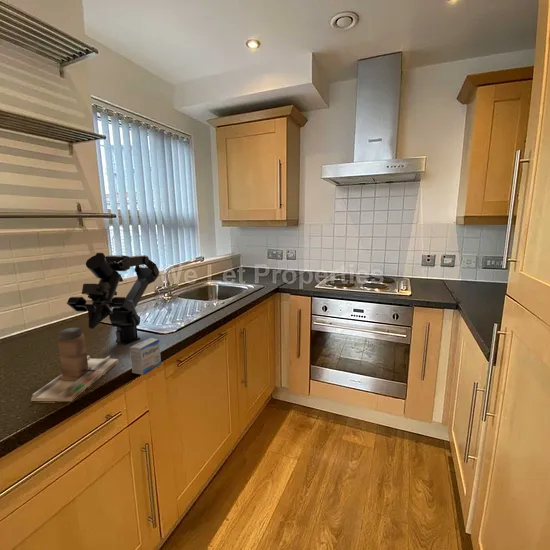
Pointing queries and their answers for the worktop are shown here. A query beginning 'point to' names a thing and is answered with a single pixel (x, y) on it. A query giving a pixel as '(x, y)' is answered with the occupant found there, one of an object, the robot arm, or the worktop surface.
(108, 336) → the worktop surface
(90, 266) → the robot arm
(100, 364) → the scale board
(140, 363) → the medicine box
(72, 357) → the post
